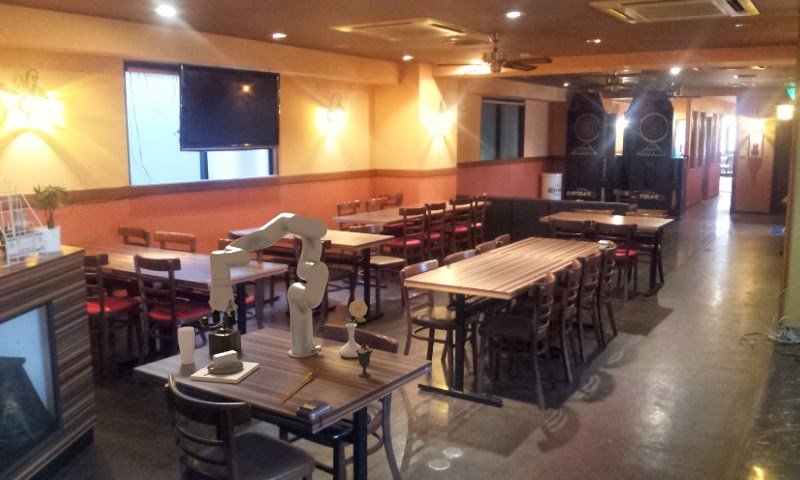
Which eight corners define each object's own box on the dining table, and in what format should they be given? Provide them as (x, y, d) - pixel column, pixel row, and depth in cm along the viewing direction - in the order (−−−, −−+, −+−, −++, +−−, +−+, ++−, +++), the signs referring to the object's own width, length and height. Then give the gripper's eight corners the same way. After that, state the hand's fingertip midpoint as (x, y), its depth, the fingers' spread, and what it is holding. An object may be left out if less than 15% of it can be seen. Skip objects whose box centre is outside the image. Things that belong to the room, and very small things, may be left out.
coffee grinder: (221, 347, 311) (219, 309, 308) (242, 350, 307) (240, 311, 304) (199, 358, 297) (197, 317, 294) (221, 360, 293) (218, 320, 290)
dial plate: (259, 366, 284) (259, 362, 284) (236, 383, 265) (236, 379, 265) (215, 363, 289) (215, 359, 289) (190, 379, 270) (190, 375, 270)
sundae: (360, 379, 268) (359, 342, 266) (353, 374, 274) (352, 338, 272) (375, 376, 271) (375, 339, 269) (368, 371, 277) (367, 335, 275)
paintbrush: (279, 406, 245) (278, 399, 244) (317, 370, 278) (317, 364, 277) (282, 406, 244) (282, 399, 244) (320, 371, 277) (320, 364, 277)
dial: (231, 360, 287) (230, 346, 286) (250, 368, 277) (249, 353, 276) (201, 368, 277) (200, 354, 276) (219, 376, 267) (218, 361, 266)
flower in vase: (336, 359, 293) (334, 302, 289) (341, 351, 304) (340, 296, 300) (366, 360, 291) (365, 303, 287) (370, 352, 302) (369, 296, 298)
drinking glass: (191, 366, 286) (189, 331, 284) (176, 365, 288) (174, 330, 285) (199, 360, 293) (197, 326, 291) (184, 360, 294) (182, 326, 292)
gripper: (200, 281, 274) (203, 322, 277) (227, 286, 264) (230, 329, 266) (215, 277, 280) (218, 318, 283) (242, 282, 269) (245, 324, 272)
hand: (224, 323), depth 275 cm, fingers open, 9 cm apart
